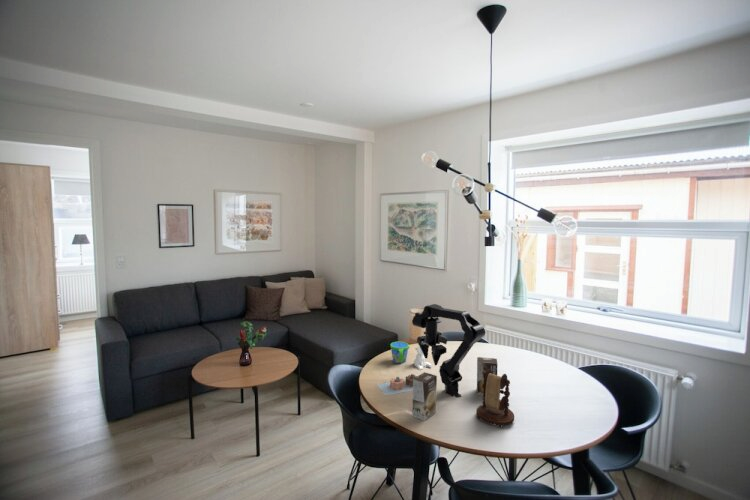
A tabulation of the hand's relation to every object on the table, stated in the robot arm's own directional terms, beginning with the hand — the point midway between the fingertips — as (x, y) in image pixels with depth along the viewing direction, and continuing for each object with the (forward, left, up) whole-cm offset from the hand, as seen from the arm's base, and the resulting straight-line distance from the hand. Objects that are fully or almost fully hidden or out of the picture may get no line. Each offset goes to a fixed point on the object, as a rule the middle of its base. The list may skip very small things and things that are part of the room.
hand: (430, 361), depth 180 cm
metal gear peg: (+3, +16, -11) cm, 20 cm away
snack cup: (+32, +1, -12) cm, 35 cm away
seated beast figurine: (+21, -6, -12) cm, 25 cm away
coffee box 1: (-22, +16, -12) cm, 30 cm away
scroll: (-36, -9, -12) cm, 39 cm away
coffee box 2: (-17, -20, -12) cm, 29 cm away
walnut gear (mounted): (+3, +8, -11) cm, 14 cm away
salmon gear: (+3, +17, -11) cm, 20 cm away
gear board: (+3, +14, -12) cm, 19 cm away
